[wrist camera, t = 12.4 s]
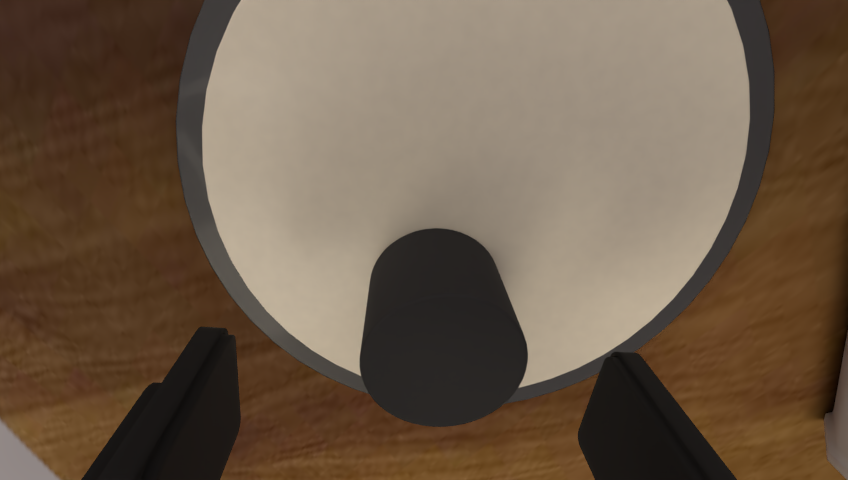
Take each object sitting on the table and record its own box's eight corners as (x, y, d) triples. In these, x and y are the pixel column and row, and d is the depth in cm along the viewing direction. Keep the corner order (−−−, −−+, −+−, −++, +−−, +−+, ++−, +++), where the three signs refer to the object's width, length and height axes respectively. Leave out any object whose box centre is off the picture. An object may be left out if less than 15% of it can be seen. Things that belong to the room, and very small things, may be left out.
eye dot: (365, 333, 16) (354, 423, 12) (374, 221, 14) (364, 287, 10) (485, 342, 16) (509, 432, 13) (510, 233, 14) (546, 302, 11)
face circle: (210, 382, 17) (203, 394, 17) (143, -246, 10) (127, -263, 9) (646, 409, 19) (653, 420, 18) (881, -111, 11) (905, -118, 11)
